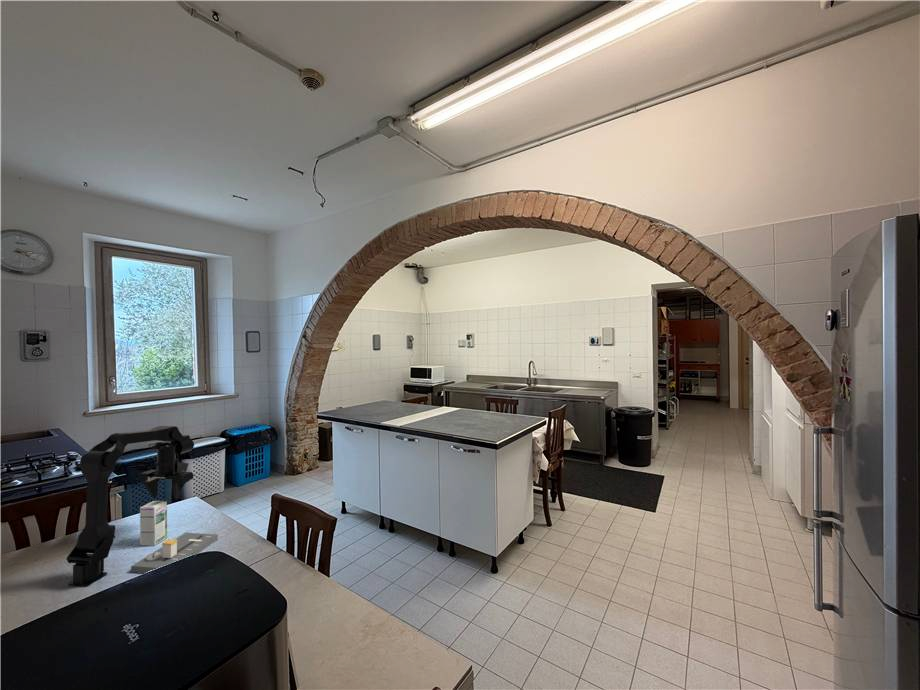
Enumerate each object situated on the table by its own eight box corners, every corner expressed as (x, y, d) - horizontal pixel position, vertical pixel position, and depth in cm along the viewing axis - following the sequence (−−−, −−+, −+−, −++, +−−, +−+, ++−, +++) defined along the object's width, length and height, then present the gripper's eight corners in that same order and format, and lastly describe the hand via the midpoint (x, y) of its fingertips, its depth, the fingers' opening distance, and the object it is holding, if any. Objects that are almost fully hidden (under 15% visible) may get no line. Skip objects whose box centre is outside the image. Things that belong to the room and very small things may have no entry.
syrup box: (154, 546, 138) (155, 506, 138) (139, 545, 138) (139, 506, 138) (167, 538, 144) (167, 500, 144) (152, 537, 144) (152, 500, 144)
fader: (170, 558, 126) (171, 543, 126) (162, 557, 127) (162, 543, 127) (177, 553, 129) (177, 539, 129) (168, 553, 129) (168, 539, 129)
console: (168, 574, 121) (168, 565, 121) (131, 572, 122) (131, 563, 122) (217, 539, 143) (217, 531, 143) (185, 537, 144) (185, 530, 144)
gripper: (204, 453, 153) (204, 491, 153) (163, 451, 155) (162, 489, 155) (181, 461, 142) (180, 503, 142) (137, 459, 144) (136, 500, 144)
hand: (165, 498), depth 146 cm, fingers open, 9 cm apart
